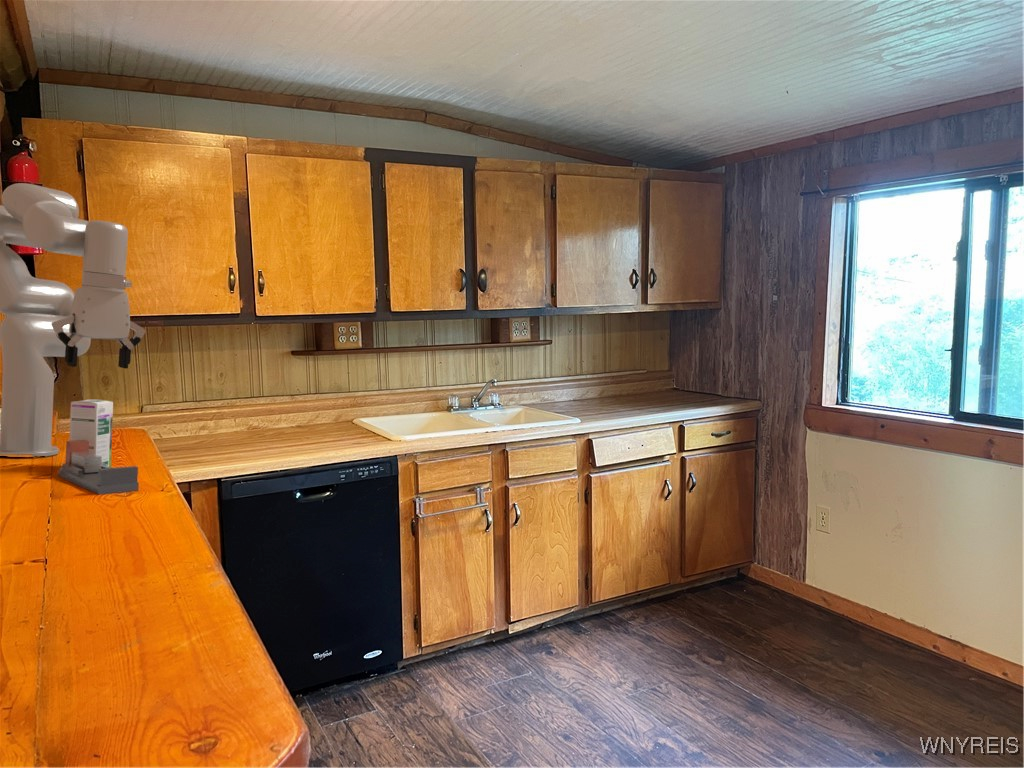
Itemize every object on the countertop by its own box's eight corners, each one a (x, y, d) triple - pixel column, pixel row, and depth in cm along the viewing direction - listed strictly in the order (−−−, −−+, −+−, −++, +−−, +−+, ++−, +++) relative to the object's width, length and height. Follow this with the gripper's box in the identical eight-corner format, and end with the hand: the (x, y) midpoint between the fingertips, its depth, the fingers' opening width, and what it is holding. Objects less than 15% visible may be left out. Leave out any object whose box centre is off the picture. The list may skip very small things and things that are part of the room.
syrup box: (95, 472, 145) (98, 402, 145) (67, 469, 145) (70, 400, 145) (111, 467, 151) (114, 400, 150) (84, 465, 151) (87, 398, 150)
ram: (65, 465, 142) (66, 440, 142) (83, 463, 145) (85, 439, 144) (83, 473, 136) (84, 447, 136) (102, 471, 139) (103, 446, 139)
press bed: (58, 476, 139) (59, 453, 139) (96, 472, 145) (97, 451, 145) (98, 494, 128) (99, 470, 127) (138, 490, 133) (139, 467, 133)
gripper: (139, 287, 151) (134, 366, 153) (48, 277, 138) (43, 363, 139) (155, 289, 147) (149, 370, 148) (62, 278, 133) (56, 367, 134)
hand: (98, 366), depth 144 cm, fingers open, 9 cm apart
